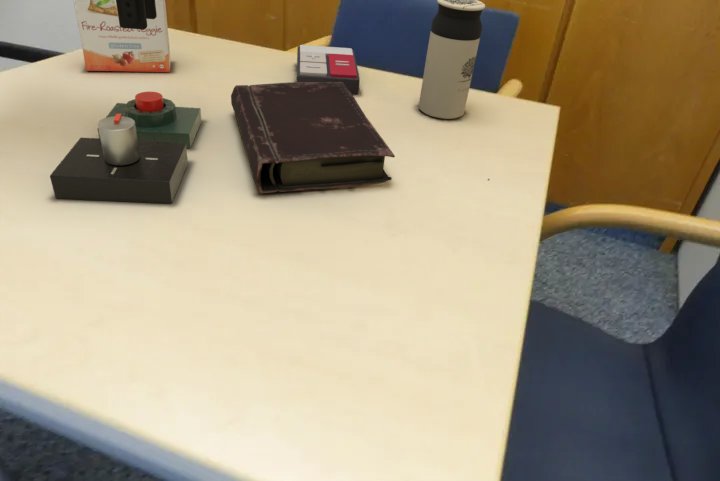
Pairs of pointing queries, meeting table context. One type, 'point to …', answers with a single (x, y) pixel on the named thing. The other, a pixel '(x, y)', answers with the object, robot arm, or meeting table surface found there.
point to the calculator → (328, 66)
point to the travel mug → (451, 58)
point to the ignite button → (149, 101)
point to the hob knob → (119, 140)
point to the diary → (307, 137)
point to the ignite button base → (162, 122)
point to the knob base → (121, 173)
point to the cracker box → (122, 39)
